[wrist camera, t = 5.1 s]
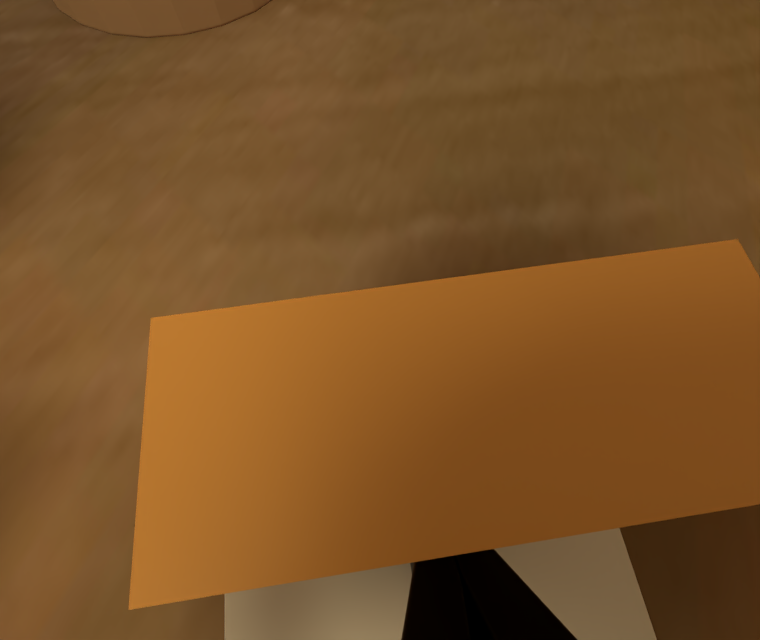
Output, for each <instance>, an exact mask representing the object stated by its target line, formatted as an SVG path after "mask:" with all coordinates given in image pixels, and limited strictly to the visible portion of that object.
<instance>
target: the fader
mask: <svg viewBox="0 0 760 640" xmlns="http://www.w3.org/2000/svg"><path fill="white" fill-rule="evenodd" d="M759 504H760V277H759V275H758V273H757V272H756V270H755V268H754V266H753V265H752V263H751V261H750V260H749V258H748V256H747V254H746V253H745V251H744V249H743V247H742V246H741V244H740V242H739V240H738V239H735V240H727V241H720V242H712V243H705V244H698V245H690V246H683V247H675V248H668V249H660V250H653V251H646V252H638V253H631V254H623V255H616V256H608V257H601V258H594V259H586V260H579V261H571V262H564V263H556V264H549V265H541V266H534V267H527V268H519V269H512V270H504V271H497V272H489V273H482V274H475V275H467V276H460V277H452V278H445V279H437V280H430V281H423V282H415V283H408V284H400V285H393V286H385V287H378V288H371V289H363V290H356V291H348V292H341V293H333V294H326V295H319V296H311V297H304V298H296V299H289V300H281V301H274V302H267V303H259V304H252V305H244V306H237V307H229V308H222V309H214V310H207V311H200V312H192V313H185V314H177V315H170V316H162V317H155V318H151V325H150V338H149V351H148V364H147V377H146V390H145V403H144V416H143V429H142V442H141V455H140V468H139V481H138V494H137V507H136V520H135V533H134V546H133V559H132V572H131V585H130V598H129V610H131V609H137V608H143V607H149V606H155V605H161V604H166V603H172V602H178V601H184V600H190V599H196V598H202V597H208V596H214V595H220V594H226V593H232V592H238V591H244V590H250V589H256V588H262V587H268V586H274V585H280V584H286V583H292V582H298V581H304V580H310V579H316V578H322V577H328V576H334V575H340V574H346V573H352V572H358V571H364V570H370V569H376V568H382V567H388V566H394V565H400V564H406V563H412V562H418V561H424V560H430V559H436V558H442V557H448V556H454V555H460V554H466V553H472V552H478V551H484V550H490V549H496V548H502V547H508V546H514V545H520V544H526V543H532V542H537V541H543V540H549V539H555V538H561V537H567V536H573V535H579V534H585V533H591V532H597V531H603V530H609V529H615V528H621V527H627V526H633V525H639V524H645V523H651V522H657V521H663V520H669V519H675V518H681V517H687V516H693V515H699V514H705V513H711V512H717V511H723V510H729V509H735V508H741V507H747V506H753V505H759Z"/></svg>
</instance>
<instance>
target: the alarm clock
mask: <svg viewBox="0 0 760 640" xmlns="http://www.w3.org/2000/svg"><path fill="white" fill-rule="evenodd" d="M270 1H272V0H53V2H54V3H55V4H56V6H57V7H58V9H59V10H60V11H62V12H63V13H65V14H66V15H68V16H69V17H71V18H73V19H74V20H76V21H77V22H79V23H80V24H82V25H84V26H87V27H90V28H93V29H97V30H100V31H103V32H106V33H109V34H113V35H124V36H134V37H145V38H151V37H164V36H177V35H187V34H191V33H195V32H199V31H203V30H207V29H212V28H216V27H220V26H223V25H226V24H228V23H230V22H233V21H235V20H237V19H240V18H242V17H244V16H247V15H249V14H251V13H253V12H256V11H257V10H258V9H260V8H261V7H263V6H264V5H266V4H267V3H269V2H270Z"/></svg>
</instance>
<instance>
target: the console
mask: <svg viewBox="0 0 760 640" xmlns="http://www.w3.org/2000/svg"><path fill="white" fill-rule="evenodd" d="M495 550H496V552H497V553H498V554H499V555H500V556H501V557H502V558H503V559H504V560H505V561H506V562H507V564H508V565H509V566H510V567H511V568H512V569H513V570H514V571H515V572H516V573H517V574H518V575H519V577H520V578H521V579H522V580H523V581H524V582H525V583H526V584H527V585H528V586H529V587H530V589H531V590H532V591H533V592H534V593H535V594H536V595H537V596H538V597H539V598H540V599H541V601H542V602H543V603H544V604H545V605H546V606H547V607H548V608H549V609H550V610H551V611H552V612H553V614H554V615H555V616H556V617H557V618H558V619H559V620H560V621H561V622H562V623H563V624H564V626H565V627H566V628H567V629H568V630H569V631H570V632H571V633H572V634H573V635H574V636H575V637H576V639H577V640H657V639H656V636H655V633H654V630H653V627H652V624H651V621H650V618H649V615H648V612H647V609H646V606H645V603H644V600H643V597H642V594H641V591H640V588H639V585H638V582H637V579H636V576H635V573H634V570H633V567H632V564H631V561H630V558H629V555H628V552H627V549H626V546H625V543H624V540H623V537H622V534H621V531H620V528H615V529H609V530H603V531H597V532H591V533H585V534H579V535H573V536H567V537H561V538H555V539H549V540H543V541H537V542H532V543H526V544H520V545H514V546H508V547H502V548H496V549H495ZM413 566H414V562H412V563H406V564H400V565H394V566H388V567H382V568H376V569H370V570H364V571H358V572H352V573H346V574H340V575H334V576H328V577H322V578H316V579H310V580H304V581H298V582H292V583H286V584H280V585H274V586H268V587H262V588H256V589H250V590H244V591H238V592H232V593H226V594H225V640H401V638H402V632H403V626H404V620H405V614H406V608H407V602H408V596H409V590H410V584H411V578H412V572H413Z"/></svg>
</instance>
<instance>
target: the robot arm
mask: <svg viewBox="0 0 760 640" xmlns="http://www.w3.org/2000/svg"><path fill="white" fill-rule="evenodd" d="M401 640H577V639H576V637H575V636H574V635H573V634H572V633H571V632H570V631H569V630H568V629H567V628H566V627H565V626H564V624H563V623H562V622H561V621H560V620H559V619H558V618H557V617H556V616H555V615H554V614H553V612H552V611H551V610H550V609H549V608H548V607H547V606H546V605H545V604H544V603H543V602H542V601H541V599H540V598H539V597H538V596H537V595H536V594H535V593H534V592H533V591H532V590H531V589H530V587H529V586H528V585H527V584H526V583H525V582H524V581H523V580H522V579H521V578H520V577H519V575H518V574H517V573H516V572H515V571H514V570H513V569H512V568H511V567H510V566H509V565H508V564H507V562H506V561H505V560H504V559H503V558H502V557H501V556H500V555H499V554H498V553H497V552H496V550H495V549H490V550H484V551H478V552H472V553H466V554H460V555H454V556H448V557H442V558H436V559H430V560H424V561H418V562H414V566H413V572H412V578H411V584H410V590H409V596H408V602H407V608H406V614H405V620H404V626H403V632H402V638H401Z"/></svg>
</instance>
